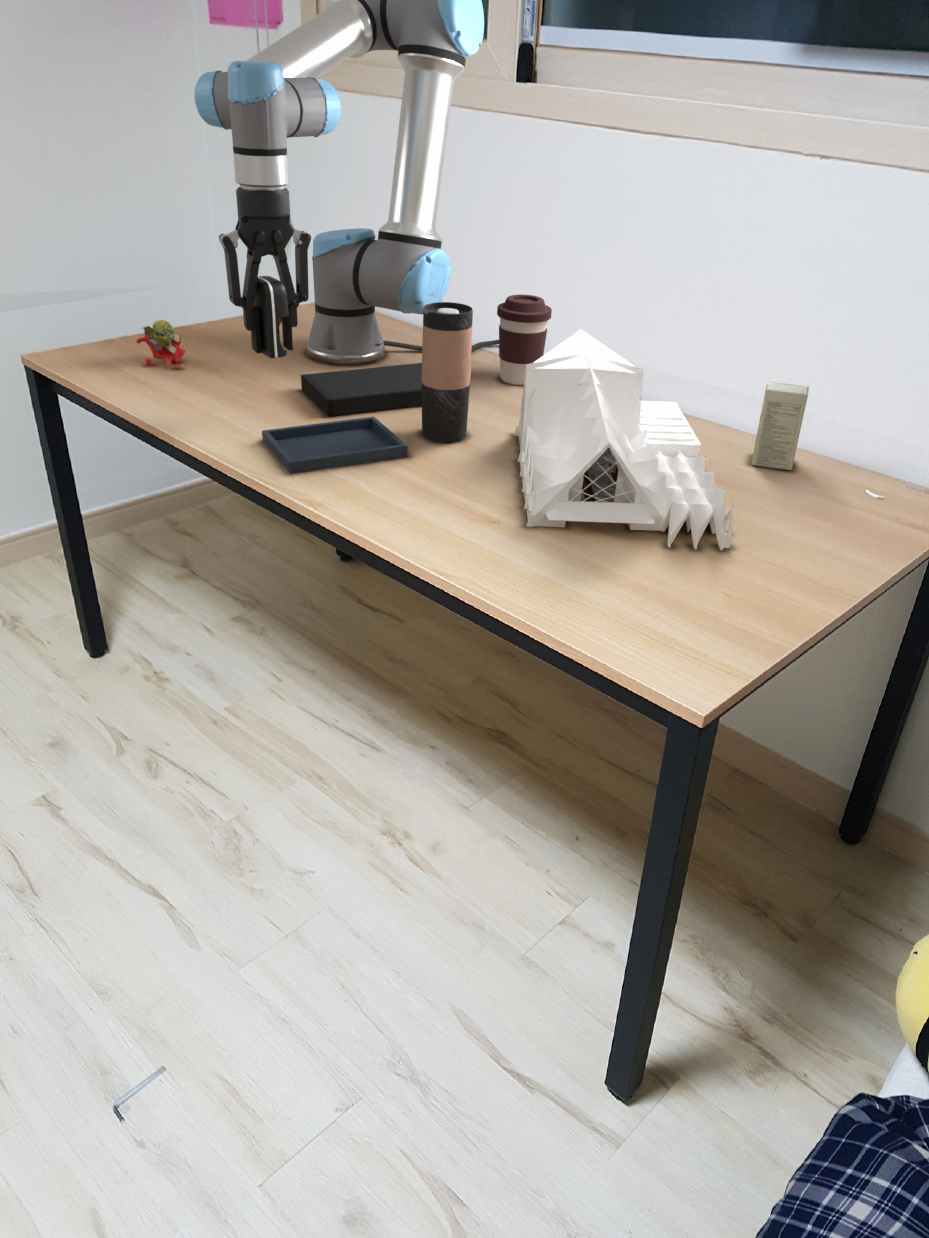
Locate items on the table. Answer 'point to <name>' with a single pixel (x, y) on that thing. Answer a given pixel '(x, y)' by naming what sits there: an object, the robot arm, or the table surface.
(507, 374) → the coffee cup
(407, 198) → the robot arm
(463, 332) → the travel mug
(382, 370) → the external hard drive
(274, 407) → the table surface
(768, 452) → the cosmetic box
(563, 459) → the white faceted model
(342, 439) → the tray
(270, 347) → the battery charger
